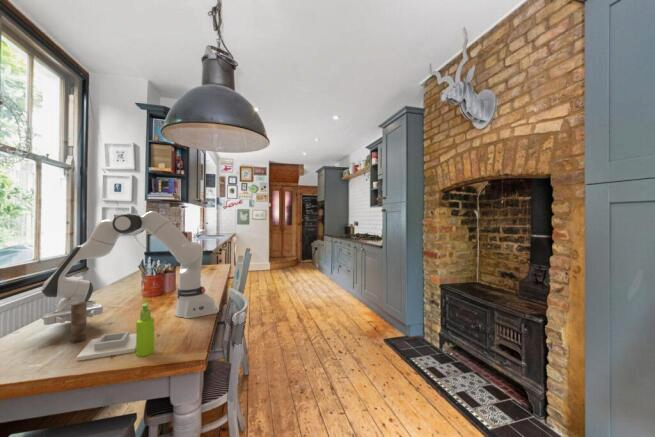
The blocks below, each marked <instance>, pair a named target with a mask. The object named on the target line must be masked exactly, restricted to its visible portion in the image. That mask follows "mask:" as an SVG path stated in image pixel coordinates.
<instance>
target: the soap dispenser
mask: <svg viewBox="0 0 655 437" xmlns="http://www.w3.org/2000/svg"><path fill="white" fill-rule="evenodd" d="M141 308H142V310H140V312H139V314H140V315H139V316H140V318H138V319H137V320H136V322H135V323H136V325H135V326H136V328H135V329H136V333H135V334H136V350H135V353H136V354H135V355H136V356H137V357H147V356H150V355H152V354H153V353H154V352H155V317H152V316H151V309H149V301H143V302H142V304H141Z"/></svg>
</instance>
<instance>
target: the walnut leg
mask: <svg viewBox="0 0 655 437" xmlns="http://www.w3.org/2000/svg"><path fill="white" fill-rule="evenodd" d="M87 318H88V317H87V302H76V303H72V304H71V321H70V343H71V344H77V343H82V342H84V341H85V342H86V340H87Z"/></svg>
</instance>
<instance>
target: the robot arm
mask: <svg viewBox="0 0 655 437" xmlns="http://www.w3.org/2000/svg"><path fill="white" fill-rule="evenodd" d="M145 231H146V232H148V233H149V234H150V235H152V236H153V237H154V238H155V239H156V240H158V242H160V243H161V244H162V245H163V246H164V247H165V248H166V249H167V250H168V251H169V253H170V254H171V255H172V256H173V257H174V258H175V260H176V262H177V263H179V264H180V267H179V271H178V285H177V286H178V287H177V290H176V291H177V292H176V294H177V296H176V297H177V305H176V308H175V312H174V316H175V317H178V318H184V319H193V318H200V317H204V316H211V315H216V314H218V313H219V312H220V307H219V306H218V305H217V304H216V302H215V300H214V298H213V297H212V296H211V295H209V294H208V293H206V288H205V287H204V286H202V284H201V280H202V279H201V277H202V275H201V273H202V266H203V254H204V248H203V245H202V244H200V242H197V241H190V240H189V238H187V236H186V235H184V233H183V231H182V230H180V229H179V228H178V227H177V226H176V225H175V224H174V223H173V222H172V221H170V220H169V219H168V218H166V217H165V216H164V215H163V214H160V213H158V212H157V211H155V210H150V211H148V212H146V213H145V214H143V215H139V214H137V213H136V214H135V213H130V212H129V213H128V212H123V213H120V214H117V215H116V216H114V218H113V219H103V220H101V221H99V222H98V224H97V225H96V226H95V227H94V229H93V231H92V232H91V234H90V236H89V238H88V239H87V240H86V241H85V242H84V243H82V244H81V245H76V246H75V247H73V249H71V251H70V252H69V253H68V254H67V255H66V257H65V258H64V259H63V261H61V262H60V265H59V266H58V267H56V270H54V272H53V273H52V274H51V275H50V276H49V277H48V279H46V281H45V282H44V283H43V284H42V286H41V293H42V294H43V295H44V296H45V297H46V298H61V299H60V300H59V301H58V303H57V305H56V306H57V307H56V311H51V312H47V313H45V314H44V315H42V316H41V320H43V325H44V326H49V325H53V324H63V323H66V322H71V304H72V303H76V302H87V318H93V317H94V316H98V315H102V314H103V313H104V306H103V304H101V303H100V302H97V301H96V300H90V299H91V297H92V295H93V292H94V291H93V290H94V285H93V283H92V282H91V280H86V279H81V278H75V277H74V278H73V277H67V276H66V275H67V273H68V272H70V269H71V268H72V267H73V266H74V265H75V263H77V262H79V261H82V260H87V259H97V258H98V259H99V258H103V257H106V256H107V255H109V254H110V253H111V252H112V251H113V249H114V247H115V245H116V243H117V241H118V239H119V237H121V236H122V235H139V234H141V233H143V232H145Z"/></svg>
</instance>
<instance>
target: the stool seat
mask: <svg viewBox="0 0 655 437" xmlns="http://www.w3.org/2000/svg"><path fill="white" fill-rule="evenodd" d="M129 353H136V333H131V334H130V331H121V332H115V333H106V334H101V335H100V337H99V338H93V339H91V340H90V341H89V342H88V343H87V345H86V346H85V347H84V348H83V349H82V350H81V351H80V352H79V354H78V355H76V362H78V361H84V360H86V361H87V360H90V359H91V360H92V359H97V358H105V357H110V356H111V355H112V356H116V355H117V356H118V355H123V354H129Z"/></svg>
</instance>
